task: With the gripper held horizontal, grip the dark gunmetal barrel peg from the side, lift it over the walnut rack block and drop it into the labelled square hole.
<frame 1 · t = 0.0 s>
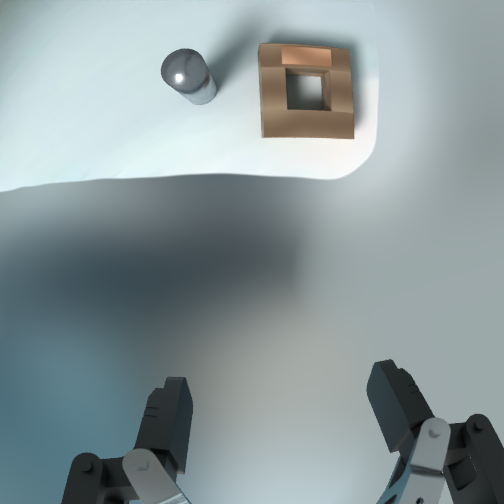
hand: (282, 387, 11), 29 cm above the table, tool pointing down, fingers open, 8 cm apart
rack block: (302, 94, 32), on the table
barrel peg: (201, 90, 32), on the table
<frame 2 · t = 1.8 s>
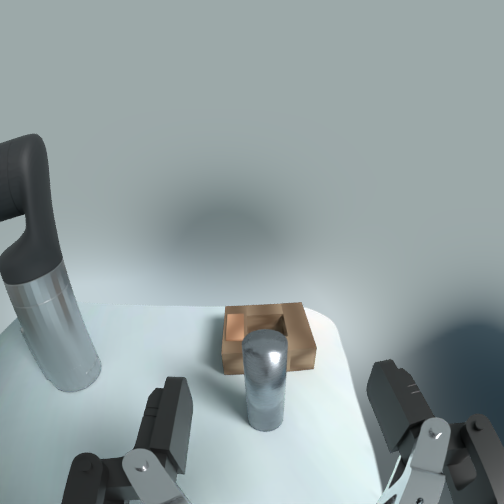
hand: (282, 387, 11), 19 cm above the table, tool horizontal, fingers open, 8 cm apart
rack block: (266, 346, 40), on the table
barrel peg: (265, 417, 28), on the table
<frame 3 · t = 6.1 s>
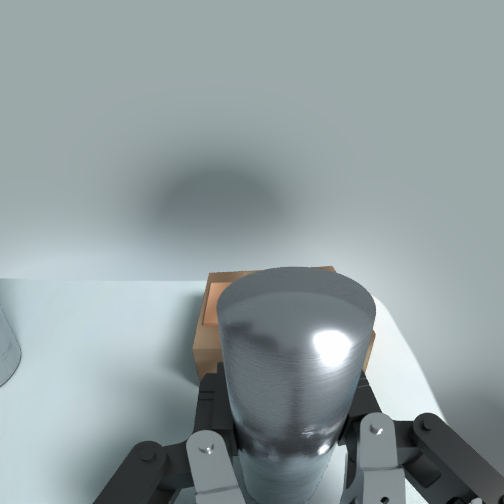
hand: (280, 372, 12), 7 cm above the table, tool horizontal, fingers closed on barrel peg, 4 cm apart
rack block: (278, 338, 23), on the table
barrel peg: (281, 479, 11), on the table, touching gripper
when the fingers open (9 cm above the table, at t = 11.4 s): barrel peg drops 3 cm, resting in rack block.
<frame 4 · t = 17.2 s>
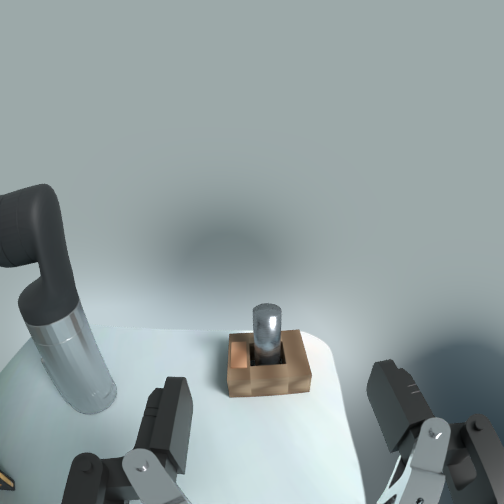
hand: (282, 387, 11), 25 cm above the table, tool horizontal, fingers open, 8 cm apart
rack block: (267, 370, 43), on the table
barrel peg: (267, 371, 43), resting in rack block
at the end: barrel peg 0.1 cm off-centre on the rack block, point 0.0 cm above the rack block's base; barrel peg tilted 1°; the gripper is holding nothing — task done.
